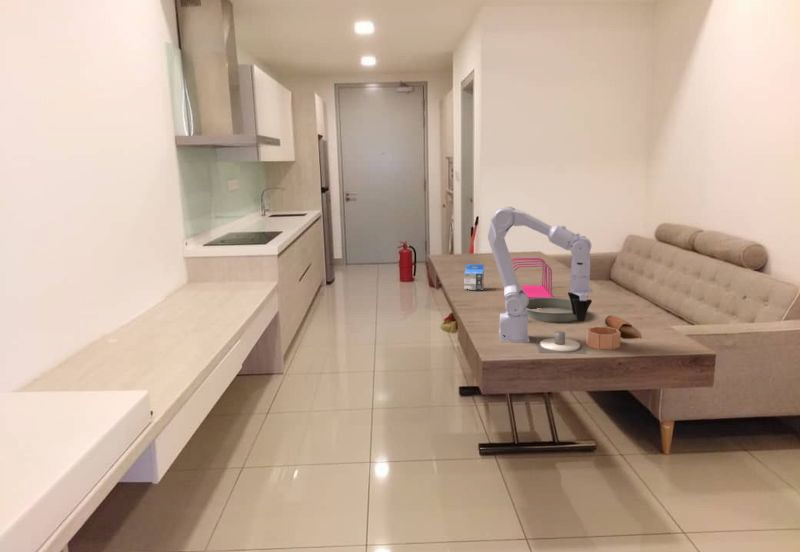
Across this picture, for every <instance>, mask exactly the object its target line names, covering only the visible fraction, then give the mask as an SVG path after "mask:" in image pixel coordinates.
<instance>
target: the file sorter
mask: <svg viewBox="0 0 800 552" xmlns="http://www.w3.org/2000/svg"><path fill="white" fill-rule="evenodd" d="M511 261H512V264H513V267H514V270H515V271H516V270H518V269H519V268H535V267H536V268H537V267H538V268H539V267H540V268H541V267H542V271H541V272H542V274H541V278H542V279H541V285H521V286H522V289H523V291H524V292H525V293H526V294H527V296H528V298H529V299H532V298H542V297H554V295H553V293H552V291H553V281H552V280H553V272H552V271H553V270H552V268H551V266H549V265H548V264H547V263H546V261H545V260H544V259H543V258H540V257H513V258H511Z"/></svg>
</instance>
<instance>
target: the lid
mask: <svg viewBox="0 0 800 552" xmlns="http://www.w3.org/2000/svg"><path fill="white" fill-rule="evenodd" d="M544 339H545V338H544ZM574 340H575V339H570V338H566V332H565V331H562V330H561V331H560V330H559V331H555V333H554V337H552V338H546V339H545V340H542V341H541V342H540V346H541V347H542V348H543V349H546V350H549V351H554V352H572V351H576V350H578V349H579V348H580V344H579V343H578V342H576V341H574Z"/></svg>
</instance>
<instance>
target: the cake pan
mask: <svg viewBox="0 0 800 552" xmlns="http://www.w3.org/2000/svg"><path fill="white" fill-rule="evenodd" d="M537 308H541V309H542V310H541V309H539V310H540V311H536V310H532V309H537ZM526 310H527V311H528V317H529V318H532V319H531V320H533V319H535V320H534V321H537V320H539V321H538V322H544V321H545V322H546V323H565V322H573V321H577V318H576V315H573V311H572V305H571V300H570V298H564V297H554V296H553V297H542V298H532V299H529V303H528V305H527V307H526ZM529 318H528V319H529Z"/></svg>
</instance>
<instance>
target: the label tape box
mask: <svg viewBox="0 0 800 552" xmlns="http://www.w3.org/2000/svg"><path fill="white" fill-rule="evenodd" d="M484 272H485V269H484V264H480V263H479V264H477V263H475V264H474V263H465V271H464V274H463V277H464V278H463V281H464V282H463V284H464V285H463V288H464V289H470V290H483V289H484V290H485V287H484V286H485V284H484V283H485V277H484V276H485V275H484ZM464 289H463V290H464ZM484 290H483V291H484Z"/></svg>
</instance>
